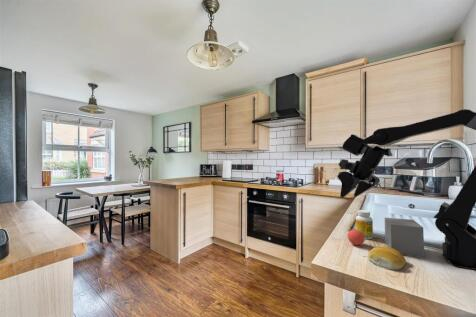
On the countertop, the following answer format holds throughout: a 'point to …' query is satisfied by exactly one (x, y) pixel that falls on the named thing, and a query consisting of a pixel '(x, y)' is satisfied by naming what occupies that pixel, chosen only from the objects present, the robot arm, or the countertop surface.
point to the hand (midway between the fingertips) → (348, 196)
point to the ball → (356, 237)
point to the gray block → (404, 236)
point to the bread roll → (387, 258)
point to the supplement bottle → (364, 223)
